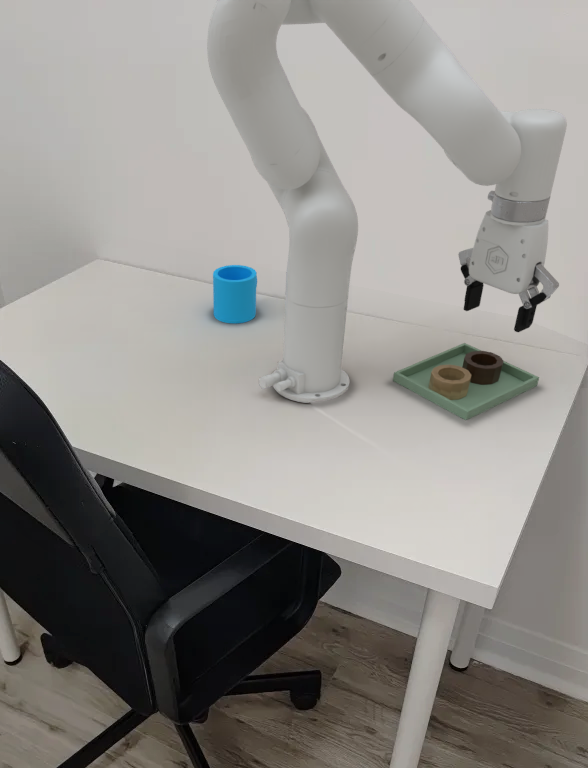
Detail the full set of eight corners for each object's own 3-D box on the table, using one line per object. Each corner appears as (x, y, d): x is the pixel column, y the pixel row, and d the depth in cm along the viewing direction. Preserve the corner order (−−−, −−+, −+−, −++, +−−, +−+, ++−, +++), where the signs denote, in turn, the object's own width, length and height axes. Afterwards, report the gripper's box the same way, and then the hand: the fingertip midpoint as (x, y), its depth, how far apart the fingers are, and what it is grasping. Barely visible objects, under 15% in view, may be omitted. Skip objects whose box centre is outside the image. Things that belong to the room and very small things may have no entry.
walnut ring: (482, 388, 124) (486, 372, 122) (453, 374, 128) (457, 357, 126) (506, 377, 126) (511, 361, 125) (477, 363, 130) (481, 347, 128)
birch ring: (449, 403, 120) (453, 387, 119) (421, 388, 124) (423, 372, 122) (475, 392, 123) (479, 375, 121) (446, 377, 127) (449, 361, 125)
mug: (242, 327, 144) (242, 285, 139) (205, 317, 148) (204, 276, 143) (273, 303, 152) (274, 263, 147) (237, 295, 156) (237, 255, 151)
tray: (465, 423, 117) (467, 411, 116) (392, 383, 127) (393, 372, 126) (536, 388, 125) (539, 377, 123) (462, 353, 134) (464, 342, 133)
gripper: (454, 198, 114) (437, 307, 125) (555, 229, 103) (527, 345, 114) (487, 188, 117) (468, 294, 128) (589, 216, 106) (558, 330, 117)
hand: (495, 318), depth 121 cm, fingers open, 9 cm apart
